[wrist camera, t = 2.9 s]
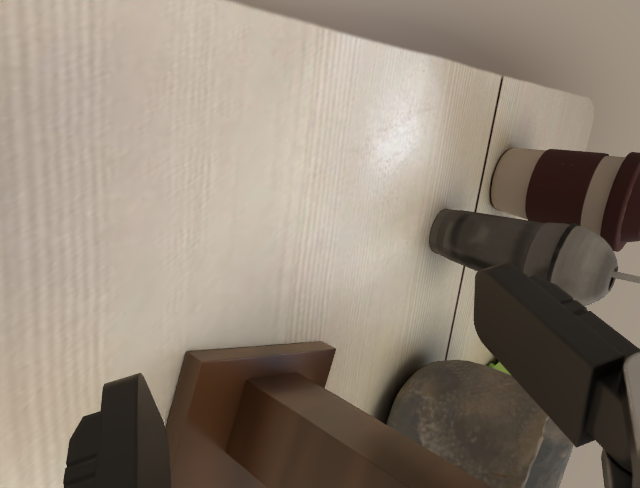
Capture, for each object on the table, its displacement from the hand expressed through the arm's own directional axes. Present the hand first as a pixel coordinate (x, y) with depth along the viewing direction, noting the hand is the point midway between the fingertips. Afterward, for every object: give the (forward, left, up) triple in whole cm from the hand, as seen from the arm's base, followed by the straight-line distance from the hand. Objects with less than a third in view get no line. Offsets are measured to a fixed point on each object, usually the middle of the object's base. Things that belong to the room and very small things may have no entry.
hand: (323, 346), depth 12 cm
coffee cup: (+33, +37, -16) cm, 52 cm away
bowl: (+43, +11, -16) cm, 47 cm away
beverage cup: (+28, +24, -16) cm, 40 cm away
